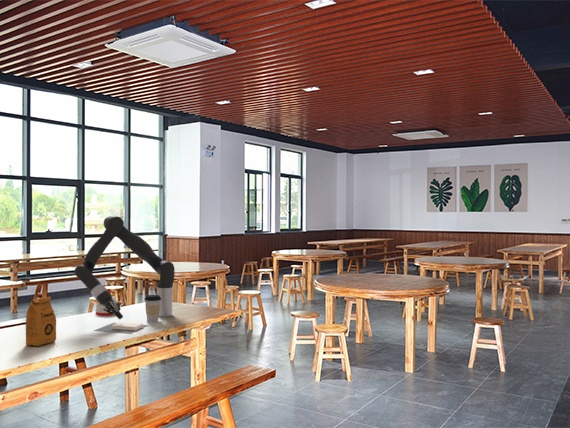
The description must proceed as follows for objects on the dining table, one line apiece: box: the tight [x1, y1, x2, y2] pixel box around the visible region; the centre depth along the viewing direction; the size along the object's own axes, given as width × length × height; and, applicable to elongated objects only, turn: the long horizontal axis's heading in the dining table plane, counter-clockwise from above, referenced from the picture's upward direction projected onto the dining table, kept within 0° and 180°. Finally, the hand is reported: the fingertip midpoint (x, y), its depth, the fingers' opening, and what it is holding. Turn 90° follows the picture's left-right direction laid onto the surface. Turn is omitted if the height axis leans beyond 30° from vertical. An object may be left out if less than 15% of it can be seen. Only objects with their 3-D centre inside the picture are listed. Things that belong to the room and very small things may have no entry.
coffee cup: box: [144, 294, 161, 323], centre depth 293 cm, size 9×9×15 cm
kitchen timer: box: [95, 288, 121, 317], centre depth 314 cm, size 14×14×15 cm
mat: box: [93, 322, 149, 335], centre depth 275 cm, size 22×20×1 cm
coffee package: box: [25, 296, 57, 347], centre depth 243 cm, size 10×12×22 cm
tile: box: [112, 321, 144, 332], centre depth 274 cm, size 2×8×14 cm
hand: (121, 318), depth 275 cm, fingers closed
